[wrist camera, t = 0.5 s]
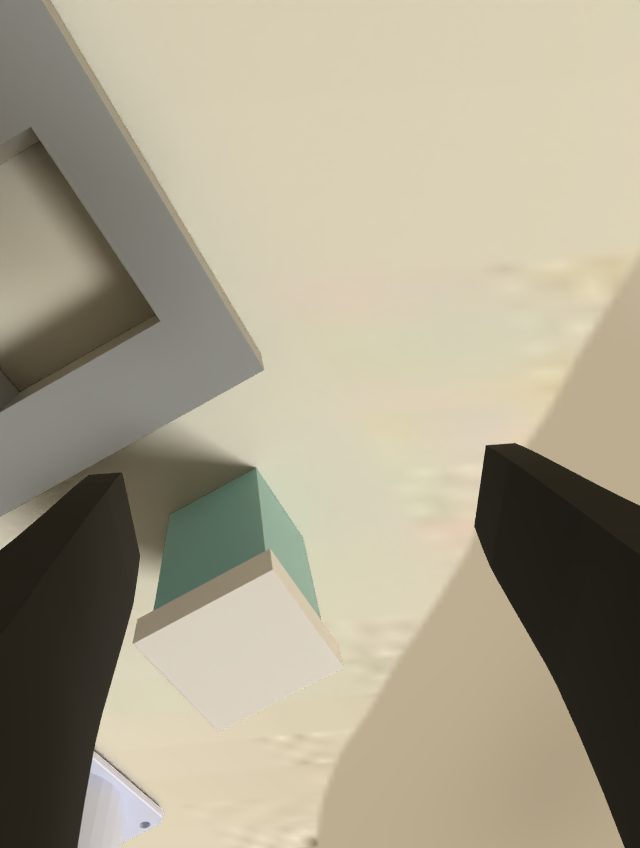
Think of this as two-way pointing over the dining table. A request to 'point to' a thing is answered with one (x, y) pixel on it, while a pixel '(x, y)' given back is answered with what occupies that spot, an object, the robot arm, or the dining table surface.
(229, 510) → the plug
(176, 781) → the dining table surface
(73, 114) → the socket plate
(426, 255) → the dining table surface
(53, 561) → the robot arm
